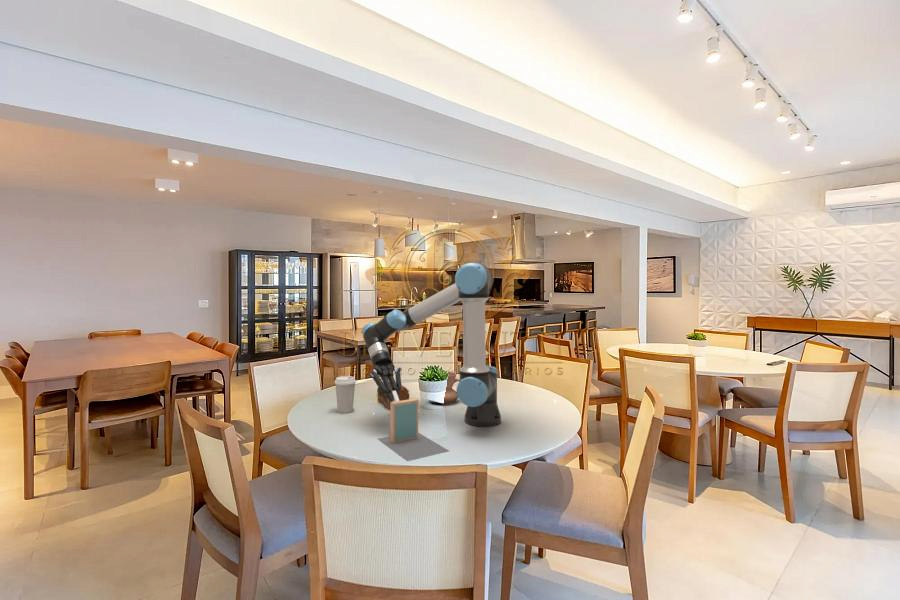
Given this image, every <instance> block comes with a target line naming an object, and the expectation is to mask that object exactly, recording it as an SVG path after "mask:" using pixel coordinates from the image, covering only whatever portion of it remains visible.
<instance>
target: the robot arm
mask: <svg viewBox="0 0 900 600" xmlns="http://www.w3.org/2000/svg"><path fill="white" fill-rule="evenodd" d="M493 283H494V274H493V272H492V271H491V269H490V268H489V267H488V266H486V265H484V264H480V263H478V262H468V263H464V264H463V265H462V266H460V267H459V268H458V269H457V271H456V273H455V276H454V283H453V284H451V285H449V286H448V287H446V288H443V289H442V290H440V291H438V292H437V293H435V294H433V295H431V296H430V297H429V296H428V297H427V298H426V299H424V300H422V301H420V302H418V303H417V304H415V305H412V306H411V307H409V308H407V309H406V310H404V311H401V310H399V309H393V310H392V311H390V312H389V313H387V315H385V316H384V317H382V319H381V320H379V321H378V322H369V323H366V324H365V325H363V326H362V329H361V332H362V333H361V334H362V338H363V340H364V343H365V345H366V348H367V351H368V353H369V357H370V360H371V363H372V367H373V369H372V370H371V371H370V373H369V377H370V378H371V379H373V381H374V383H375V384H376V386H377V388H378V387H379V389H380V390H381V392H382V393H383V394H385V393H386V395H387V396H389V399H390V401H392V402H396V401H399V399H400V395H399V392H400V390H401V388H402V386H403V385H402V377H401V371H402V368H401V367H396V366H395V365H394V363H393V360H392V357H391V355H390V352H389V349H388V347H387V345H386V341H385V340H388V338H390V337H391V336H392V335H393V334H395V333H397V332H403V331H408V330H411V329H413V327H414V326H416V325H417V324H419V323H422V322H423V321H425V320H427V319H429V318H431V317H433V316H434V315H436V314H438V313H440V312H442V311H444V310H446V309H447V308H450V307H452V306H453V305H455V304H456V303H459V302H461V303H462V341H463V342H462V343H463V344H462V349H463V350H462V354H463V356H462V357H463V360H462V361H463V364H462V367H460V368H459V379H460V382H459V381H458V382H457V385H456V386H457V387H456V392H457V396H458V399H459V400H458V401H460V402H461V403H462V404H463V405H465V406H467V407H466V411H465V414H464V422H465V424H467V425H470V426H475V427H482V428H483V427H484V428H485V427H495V426H498V425H500V424H501V422H502V414H501V412H500V409H499V406H498V369H497V367H496V366H490V365H486V364H487V359H486V357H487V356H486V355H487V353H486V350H487V349H486V302H487V301H488V300H489V298H490V289H491V287H492V285H493ZM394 374H395V378H394ZM389 383H390V384H389ZM390 385H391V386H390ZM391 388H392V389H391Z"/></svg>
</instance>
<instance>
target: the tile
mask: <svg viewBox="0 0 900 600" xmlns="http://www.w3.org/2000/svg"><path fill="white" fill-rule="evenodd" d="M389 411H390V412H389V415H390V416H389V417H390V419H389V421H390V422H389V426H390V427H389V430H390V431H389V436H390V441H391V442H392V443H397V442H402V441H406V440H411V439H416V438H418V433H419V399H417V398H411V399H410V398H409V400H402V401H396V402H390V409H389Z"/></svg>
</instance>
